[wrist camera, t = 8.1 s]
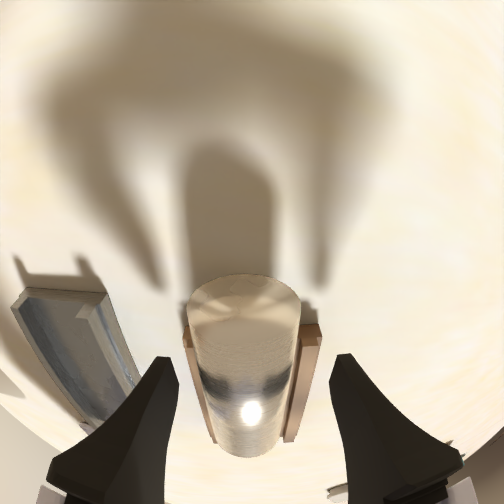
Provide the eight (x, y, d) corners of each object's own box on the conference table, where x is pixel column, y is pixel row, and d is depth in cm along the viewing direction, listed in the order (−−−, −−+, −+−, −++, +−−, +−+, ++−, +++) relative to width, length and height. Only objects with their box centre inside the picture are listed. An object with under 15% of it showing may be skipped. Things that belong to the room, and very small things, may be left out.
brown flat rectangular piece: (295, 425, 19) (297, 441, 18) (211, 427, 19) (210, 443, 18) (318, 323, 14) (324, 345, 13) (185, 325, 14) (180, 347, 12)
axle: (282, 407, 16) (276, 461, 12) (221, 400, 16) (207, 451, 13) (301, 277, 11) (300, 350, 8) (205, 270, 12) (169, 334, 8)
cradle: (164, 423, 19) (160, 443, 17) (98, 410, 19) (91, 428, 17) (107, 293, 13) (90, 319, 11) (26, 287, 13) (8, 307, 11)
